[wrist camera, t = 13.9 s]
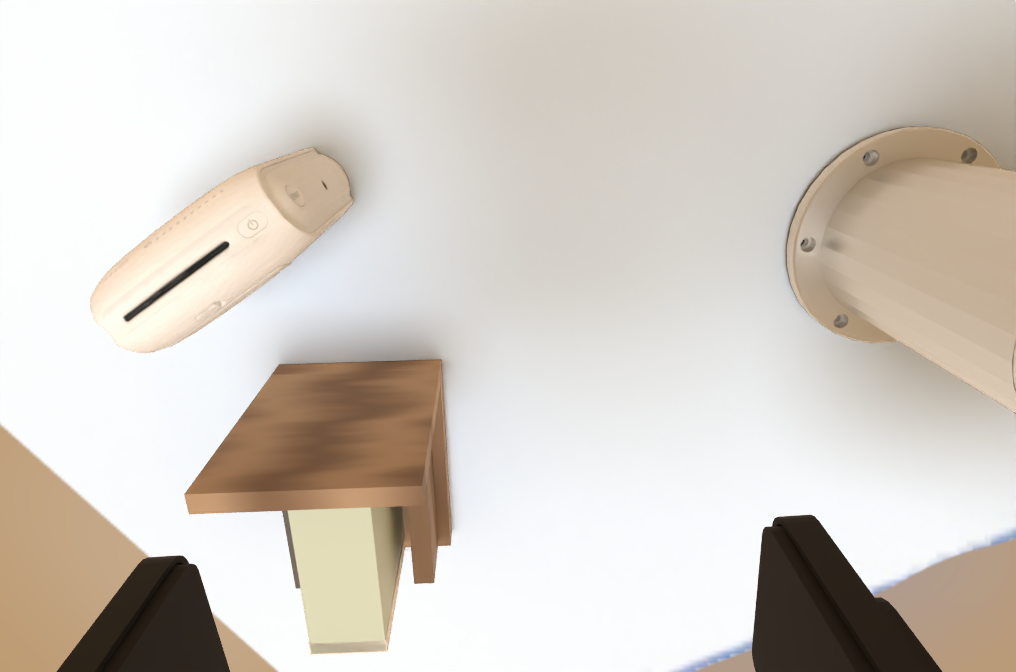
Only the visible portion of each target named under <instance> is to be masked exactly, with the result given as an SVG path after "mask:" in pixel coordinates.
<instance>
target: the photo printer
mask: <svg viewBox="0 0 1016 672" xmlns="http://www.w3.org/2000/svg"><path fill="white" fill-rule="evenodd" d="M352 203H353V199H352V198H351V197H350V185H349V181H348V179H347V176H346V174H345V172H344V171H343V169H342V168H341V167H340V166H339V164H337V163H336V162H335V161H334V160H332V159H331V158H329V157H327V156H325V155H323V154H318V153H317V152H316V150H315V149H314V148H307V149H304V150H301V151H298V152H295V153H292V154H289V155H285V156H282V157H279V158H276V159H274V160H271V161H268V162H265V163H262V164H259V165H257V166H254V167H251V168H249V169H247V170H245V171H243V172H241V173H238V174H236V175H235V176H233V177H231V178H229V179H228V180H226V181H224V182H223V183H221V184H220V185H218V186H217V187H215V188H214V189H212V190H211V191H209V192H208V193H207V194H205V195H204V196H202V197H201V198H199V199H198V200H196V201H195V202H194V203H192V204H191V205H189V206H188V207H187V208H185V209H184V210H183V211H181V212H180V213H178V214H177V215H176V216H174V217H173V218H172V219H171V220H169V221H168V222H167V223H165V224H164V225H163V226H161V227H160V228H159V229H157V230H156V231H155V232H154V233H152V234H151V235H150V236H149V237H147V238H146V239H145V240H144V241H142V242H141V243H140V244H139V245H137V246H136V247H135V248H134V249H133V250H131V251H130V252H129V253H128V254H127V255H125V256H124V257H123V258H122V259H121V260H120V261H119V262H118V263H116V264H115V265H114V266H113V267H112V268H111V269H110V270H109V271H108V272H107V273H106V274H105V276H104V277H103V278H102V279H101V281H100V282H99V283H98V285H97V287H96V288H95V290H94V292H93V294H92V296H91V300H90V308H91V312H92V315H93V318H94V320H95V322H96V324H97V325H99V326H100V327H102V328H103V329H104V330H106V331H107V332H108V333H109V335H110V336H111V337H112V339H113V340H114V342H115V344H117V345H118V346H120V347H122V348H124V349H127V350H130V351H133V352H138V353H150V352H155V351H158V350H161V349H164V348H166V347H170V346H172V345H174V344H176V343H178V342H180V341H182V340H184V339H185V338H187V337H188V336H190V335H192V334H194V333H195V332H197V331H198V330H200V329H201V328H203V327H204V326H206V325H207V324H209V323H210V322H212V321H213V320H215V319H216V318H218V317H219V316H221V315H222V314H224V313H225V312H227V311H228V310H229V309H231V308H232V307H234V306H235V305H236V304H238V303H239V302H241V301H242V300H243V299H245V298H246V297H247V296H249V295H250V294H252V293H253V292H254V291H256V290H257V289H258V288H260V287H261V286H262V285H264V284H265V283H266V282H268V281H269V280H270V279H272V278H273V277H274V276H275V275H277V274H278V273H279V272H280V271H281V270H283V269H284V268H285V267H287V266H289V265H290V264H291V262H292V261H293V260H294V259H295V258H296V257H297V256H299V255H300V254H301V253H302V252H303V251H304V250H305V249H306V248H307V247H308V246H309V245H310V244H312V243H313V242H314V241H315V240H316V239H317V238H318V237H319V236H320V235H321V234H323V233H324V232H325V231H326V230H327V229H328V228H329V227H330V226H331V225H332V224H334V223H335V222H336V221H337V220H338V219H339V218H340V217H341V216H342V215H343V214H344V213H345V212H346V211H347V210H348V209H349V207H350V206H351V205H352Z"/></svg>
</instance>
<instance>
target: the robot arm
mask: <svg viewBox="0 0 1016 672" xmlns="http://www.w3.org/2000/svg"><path fill="white" fill-rule="evenodd" d="M865 153H866V157H865V159H864V160H863V157H864V155H865ZM804 239H805V241H804V243H803V244H802V245H801V243H802V241H803V240H804ZM787 269H788V273H789V278H790V283H791V286H792V288H793V290H794V292H795V295H796V297H797V299H798V301H799V302H800V303H801V305H802V306H803V307H804V309H805V310H806V311H807V313H808V314H809V315H810V316H812V317H813V318H814V319H815V320H817V321H818V322H819V323H820V324H821V325H823V326H824V327H826V328H827V329H829V330H830V331H832V332H834V333H835V334H838V335H841V336H843V337H846V338H849V339H851V340H856V341H863V342H869V343H879V342H893V341H899V342H901V343H903V344H904V345H906V346H907V347H909V348H911V349H912V350H914V351H916V352H917V353H919V354H920V355H922V356H924V357H925V358H927V359H929V360H930V361H932V362H933V363H935V364H937V365H938V366H940V367H941V368H943V369H945V370H946V371H948V372H950V373H951V374H953V375H954V376H956V377H958V378H959V379H961V380H962V381H964V382H966V383H967V384H969V385H971V386H972V387H974V388H975V389H977V390H979V391H980V392H982V393H984V394H985V395H987V396H988V397H990V398H992V399H993V400H995V401H996V402H998V403H1000V404H1001V405H1003V406H1005V407H1006V408H1008V409H1009V410H1011V411H1013V412H1014V413H1016V171H1010V170H1004V169H1001V168H1000V166H999V164H998V163H997V161H996V159H995V158H994V157H993V156H992V155H991V154H990V153H989V152H988V151H987V150H986V149H985V148H984V147H983V146H982V145H981V144H979V143H977V142H976V141H974V140H972V139H971V138H969V137H967V136H966V135H963V134H960V133H957V132H953V131H950V130H947V129H940V128H931V127H905V128H900V129H895V130H891V131H886V132H883V133H880V134H878V135H875V136H873V137H870V138H868V139H866V140H863V141H861V142H860V143H858V144H857V145H855V146H853V147H852V148H850V149H849V150H847V151H845V152H844V153H842V154H841V155H840V156H839V157H838V158H837V159H835V160H834V161H833V162H832V163H831V164H830V165H829V166H827V167H826V168H825V169H824V170H823V172H822V173H821V174H820V175H819V176H818V178H817V179H816V180H815V181H814V182H813V184H812V185H811V186H810V188H809V189H808V191H807V193H806V194H805V196H804V198H803V199H802V201H801V203H800V204H799V206H798V209H797V211H796V214H795V217H794V219H793V222H792V225H791V228H790V233H789V238H788V244H787ZM752 656H753V662H754V667H755V671H756V672H942V671H941V669H940V668H939V667H938V665H937V664H936V663H935V661H934V660H933V659H932V657H931V656H930V655H929V653H928V652H927V651H926V650H925V648H924V647H923V645H922V644H921V643H920V641H919V640H918V639H917V638H916V636H915V635H914V633H913V632H912V631H911V629H910V628H909V627H908V625H907V624H906V623H905V621H904V620H903V619H902V617H901V616H900V615H899V613H898V612H897V611H896V609H895V608H894V607H893V606H892V605H891V604H890V603H889V602H888V601H886V600H884V599H883V598H874V596H873V595H872V594H871V592H870V591H869V589H868V588H867V587H866V585H865V584H864V583H863V581H862V580H861V578H860V577H859V576H858V574H857V573H856V572H855V570H854V569H853V567H852V566H851V565H850V563H849V562H848V561H847V559H846V558H845V556H844V555H843V554H842V552H841V551H840V550H839V548H838V547H837V545H836V544H835V543H834V541H833V540H832V539H831V537H830V536H829V534H828V533H827V532H826V530H825V529H824V528H823V526H822V525H821V523H820V522H819V521H818V520H817V519H816V517H815V516H812V515H800V516H785V517H777V518H775V519H774V521H773V525H772V527H765V528H764V529H763V533H762V543H761V554H760V565H759V577H758V588H757V599H756V610H755V622H754V633H753V644H752ZM57 672H230V670H229V667H228V664H227V660H226V657H225V654H224V651H223V647H222V644H221V641H220V638H219V635H218V632H217V628H216V625H215V622H214V619H213V615H212V612H211V609H210V606H209V602H208V599H207V596H206V593H205V589H204V586H203V583H202V580H201V577H200V573H199V570H198V568H197V566H196V565H194V564H189V563H188V561H187V559H186V558H185V557H184V556H165V557H149V558H146V559H143V560H142V561H141V562H140V563H139V564H138V566H137V567H136V568H135V569H134V571H133V572H132V573H131V575H130V576H129V577H128V578H127V580H126V581H125V583H124V584H123V585H122V587H121V588H120V589H119V590H118V592H117V593H116V594H115V596H114V597H113V598H112V600H111V601H110V602H109V604H108V605H107V606H106V607H105V609H104V610H103V612H102V613H101V614H100V615H99V617H98V618H97V619H96V621H95V622H94V623H93V624H92V626H91V627H90V629H89V630H88V631H87V632H86V634H85V635H84V636H83V638H82V639H81V640H80V642H79V643H78V644H77V646H76V647H75V648H74V650H73V651H72V652H71V653H70V655H69V656H68V657H67V659H66V660H65V661H64V663H63V664H62V665H61V667H60V668H59V669H58V671H57Z"/></svg>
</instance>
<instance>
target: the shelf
mask: <svg viewBox="0 0 1016 672" xmlns="http://www.w3.org/2000/svg"><path fill="white" fill-rule="evenodd" d="M184 495H185V499H186V503H187V507H188V512H189V514H205V513H232V512H259V511H282V512H283V517H284V523H285V529H286V534H287V540H288V546H289V552H290V557H291V563H292V569H293V574H294V580H295V586H296V588H300V582H299V576H298V570H297V564H296V558H295V552H294V546H293V540H292V534H291V528H290V522H289V516H288V510H313V509H341V508H368V507H395V506H402V511H403V522H404V532H405V536H406V544H405V547H411V551H412V562H413V573H414V584H417V583H434V578H435V568H436V558H437V548H438V546H447V545H451V533H452V529H451V513H450V496H449V480H448V463H447V447H446V431H445V414H444V398H443V381H442V365H441V360H416V361H384V362H351V363H318V364H286V365H279V366H278V367H277V368H276V370H275V371H274V372H273V374H272V375H271V376H270V378H269V379H268V381H267V382H266V383H265V385H264V386H263V387H262V389H261V390H260V392H259V393H258V394H257V396H256V397H255V398H254V400H253V401H252V403H251V404H250V405H249V407H248V408H247V409H246V411H245V412H244V413H243V415H242V416H241V418H240V419H239V420H238V422H237V423H236V424H235V426H234V427H233V429H232V430H231V431H230V433H229V434H228V435H227V437H226V438H225V439H224V441H223V442H222V444H221V445H220V446H219V448H218V449H217V450H216V452H215V453H214V455H213V456H212V457H211V459H210V460H209V461H208V463H207V464H206V465H205V467H204V468H203V470H202V471H201V472H200V474H199V475H198V476H197V478H196V479H195V481H194V482H193V483H192V485H191V486H190V487H189V489H188V490H187V492H186V493H185V494H184Z"/></svg>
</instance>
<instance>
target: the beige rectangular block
mask: <svg viewBox="0 0 1016 672" xmlns="http://www.w3.org/2000/svg"><path fill="white" fill-rule="evenodd" d="M288 516H289V522H290V528H291V534H292V540H293V546H294V552H295V558H296V564H297V570H298V576H299V582H300V588H301V594H302V600H303V606H304V612H305V618H306V624H307V630H308V636H309V641H310V642H309V647H310V653H311V655H317V654H342V653H367V652H387V651H388V645H389V639H390V633H391V627H392V621H393V615H394V609H395V603H396V597H397V591H398V586H399V580H400V574H401V568H402V562H403V556H404V550H405V544H406V536H405V532H404V522H403V511H402V506H395V507H368V508H341V509H313V510H288Z"/></svg>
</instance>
